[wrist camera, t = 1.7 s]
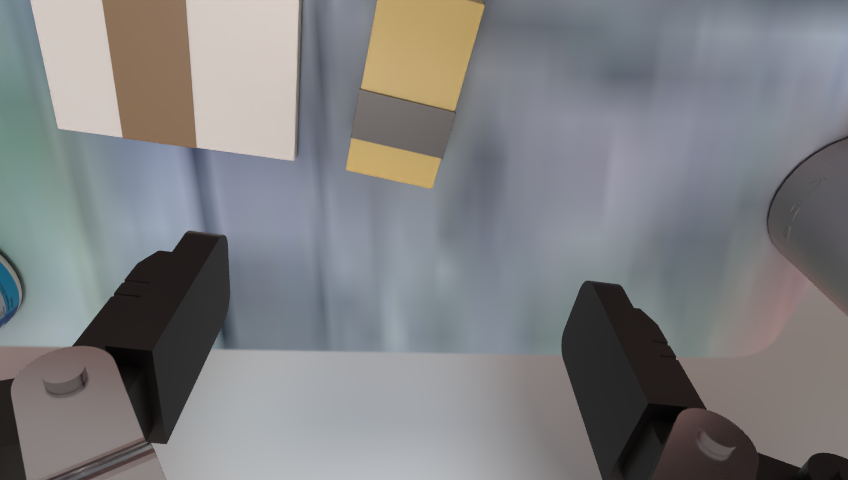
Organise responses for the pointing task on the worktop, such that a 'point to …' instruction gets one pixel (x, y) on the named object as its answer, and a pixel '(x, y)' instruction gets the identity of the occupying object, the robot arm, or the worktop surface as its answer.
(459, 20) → the block
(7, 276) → the teal labeled canister
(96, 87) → the floor panel
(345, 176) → the worktop surface
